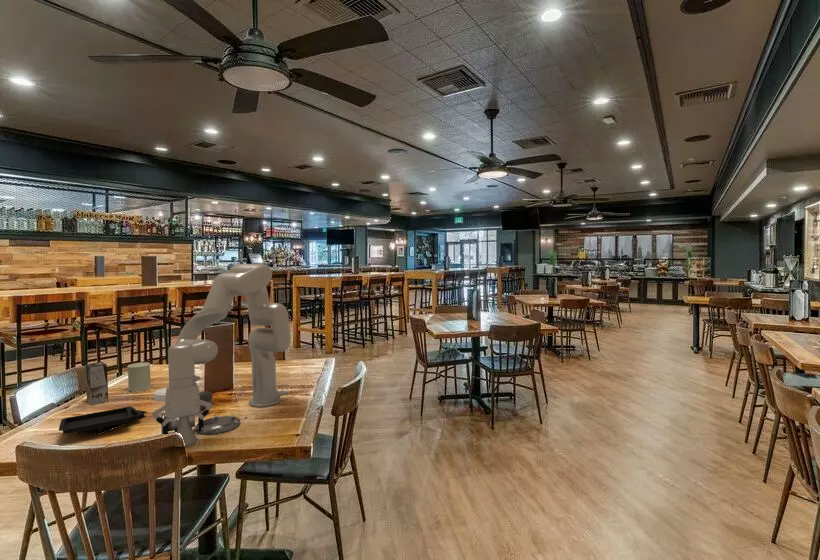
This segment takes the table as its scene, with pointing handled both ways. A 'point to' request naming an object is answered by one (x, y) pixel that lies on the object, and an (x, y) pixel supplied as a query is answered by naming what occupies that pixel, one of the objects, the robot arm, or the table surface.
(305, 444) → the table surface
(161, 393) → the mooncake
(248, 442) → the table surface
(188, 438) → the flask
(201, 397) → the perforated stone tool
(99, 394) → the coffee box
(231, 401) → the table surface
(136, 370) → the can
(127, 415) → the tray
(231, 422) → the pipe fitting
